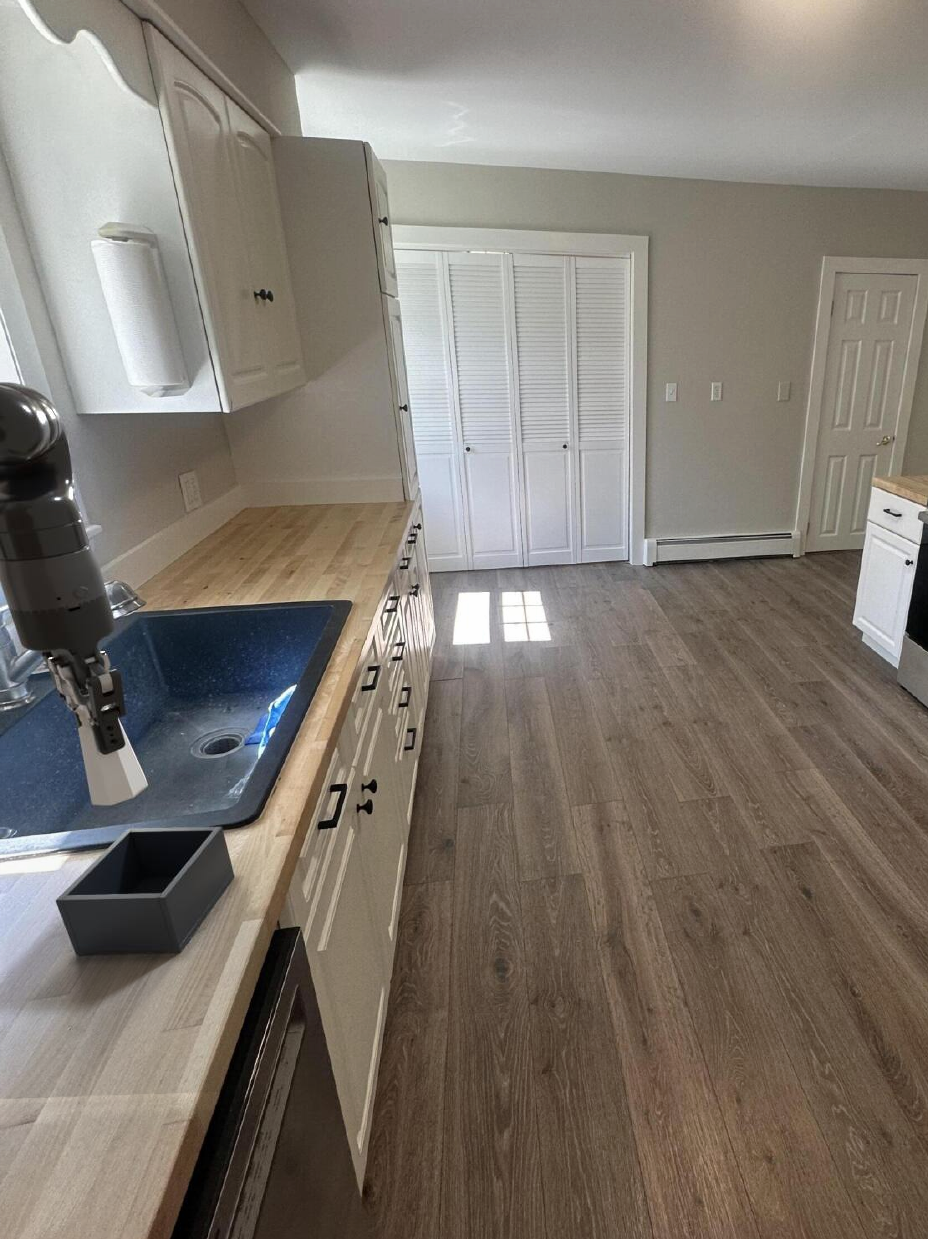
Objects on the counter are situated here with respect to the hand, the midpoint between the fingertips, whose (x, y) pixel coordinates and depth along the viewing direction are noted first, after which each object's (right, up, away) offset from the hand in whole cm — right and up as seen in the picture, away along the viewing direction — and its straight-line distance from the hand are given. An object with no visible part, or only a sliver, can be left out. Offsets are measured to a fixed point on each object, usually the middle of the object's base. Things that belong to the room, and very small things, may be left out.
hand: (104, 743), depth 71 cm
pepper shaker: (0, -6, +2) cm, 6 cm away
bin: (+1, -22, +7) cm, 23 cm away
